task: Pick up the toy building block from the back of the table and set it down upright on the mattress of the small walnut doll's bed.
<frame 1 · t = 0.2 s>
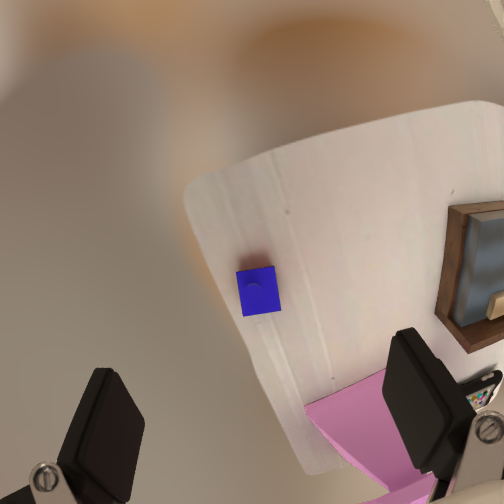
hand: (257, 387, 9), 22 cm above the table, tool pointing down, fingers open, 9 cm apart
doll bed: (484, 254, 33), on the table
phone: (463, 391, 45), on the table
toy building block: (257, 279, 33), on the table
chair: (378, 407, 44), on the table
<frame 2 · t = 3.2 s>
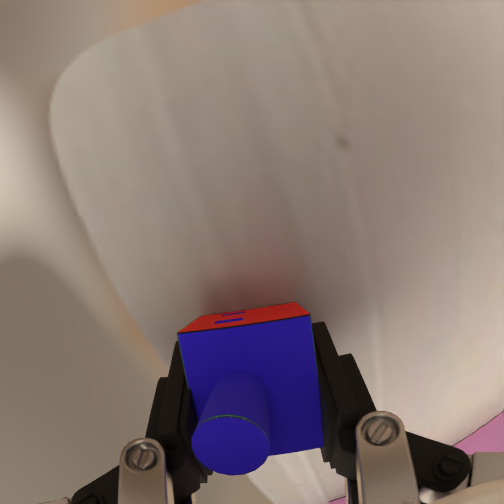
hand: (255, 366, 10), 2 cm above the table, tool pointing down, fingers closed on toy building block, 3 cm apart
toy building block: (252, 334, 12), on the table, touching gripper
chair: (429, 482, 23), on the table
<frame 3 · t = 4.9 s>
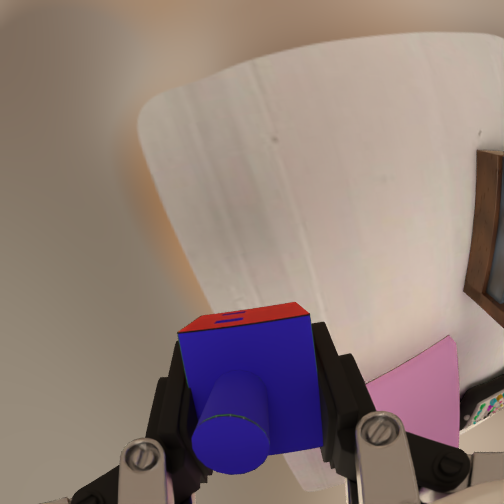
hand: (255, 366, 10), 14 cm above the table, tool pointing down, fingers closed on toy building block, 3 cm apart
phone: (485, 390, 37), on the table
toy building block: (252, 334, 12), point 12 cm above the table, touching gripper
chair: (392, 413, 35), on the table
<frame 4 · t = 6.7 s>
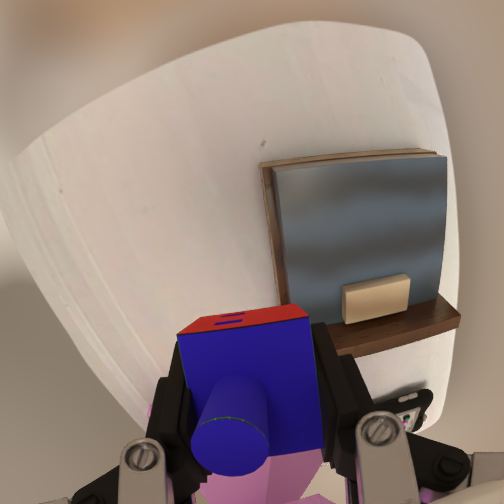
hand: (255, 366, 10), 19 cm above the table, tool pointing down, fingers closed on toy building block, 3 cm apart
doll bed: (352, 230, 29), on the table
phone: (380, 412, 41), on the table
toy building block: (252, 335, 12), point 17 cm above the table, touching gripper
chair: (247, 421, 39), on the table
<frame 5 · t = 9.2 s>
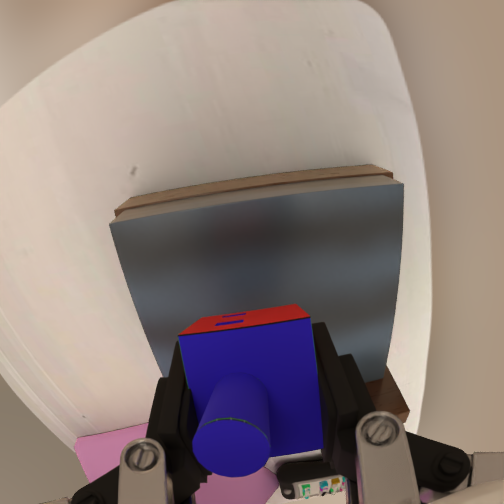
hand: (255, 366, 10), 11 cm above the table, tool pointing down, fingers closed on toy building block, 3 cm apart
doll bed: (266, 282, 22), on the table
phone: (331, 464, 34), on the table
toy building block: (253, 335, 12), point 9 cm above the table, touching gripper
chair: (177, 464, 32), on the table
when the fingers open (7 cm above the table, at t = 10.5 s): toy building block stays where it is, resting on doll bed.
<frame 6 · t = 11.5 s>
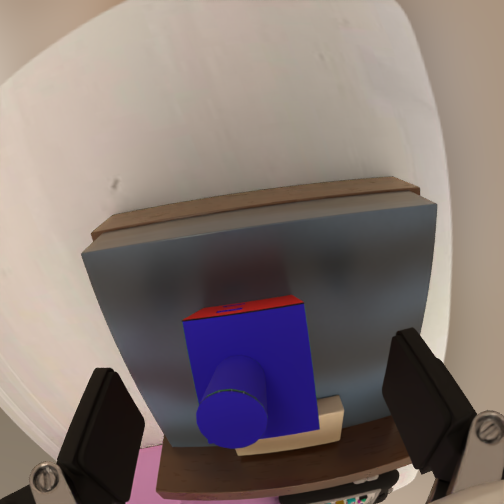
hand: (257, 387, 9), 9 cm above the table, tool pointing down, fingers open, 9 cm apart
doll bed: (269, 311, 19), on the table
phone: (335, 484, 31), on the table
toy building block: (251, 326, 13), point 5 cm above the table, touching doll bed
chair: (175, 486, 29), on the table
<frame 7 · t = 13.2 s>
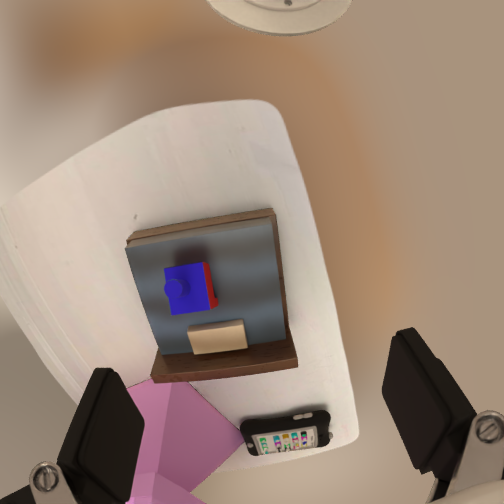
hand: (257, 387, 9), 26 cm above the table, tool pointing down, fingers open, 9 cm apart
doll bed: (213, 279, 37), on the table
phone: (285, 426, 48), on the table
toy building block: (194, 278, 31), point 5 cm above the table, touching doll bed
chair: (166, 420, 47), on the table
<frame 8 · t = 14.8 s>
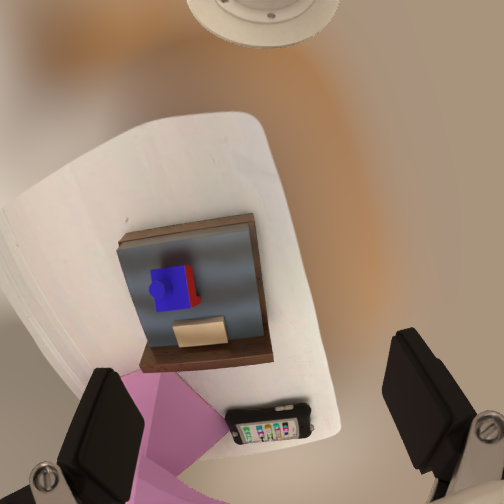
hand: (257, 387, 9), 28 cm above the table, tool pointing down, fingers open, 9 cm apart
doll bed: (198, 278, 39), on the table
phone: (269, 416, 52), on the table
toy building block: (179, 278, 33), point 5 cm above the table, touching doll bed
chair: (157, 408, 50), on the table
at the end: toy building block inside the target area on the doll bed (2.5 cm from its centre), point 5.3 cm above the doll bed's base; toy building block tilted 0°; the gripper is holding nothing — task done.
